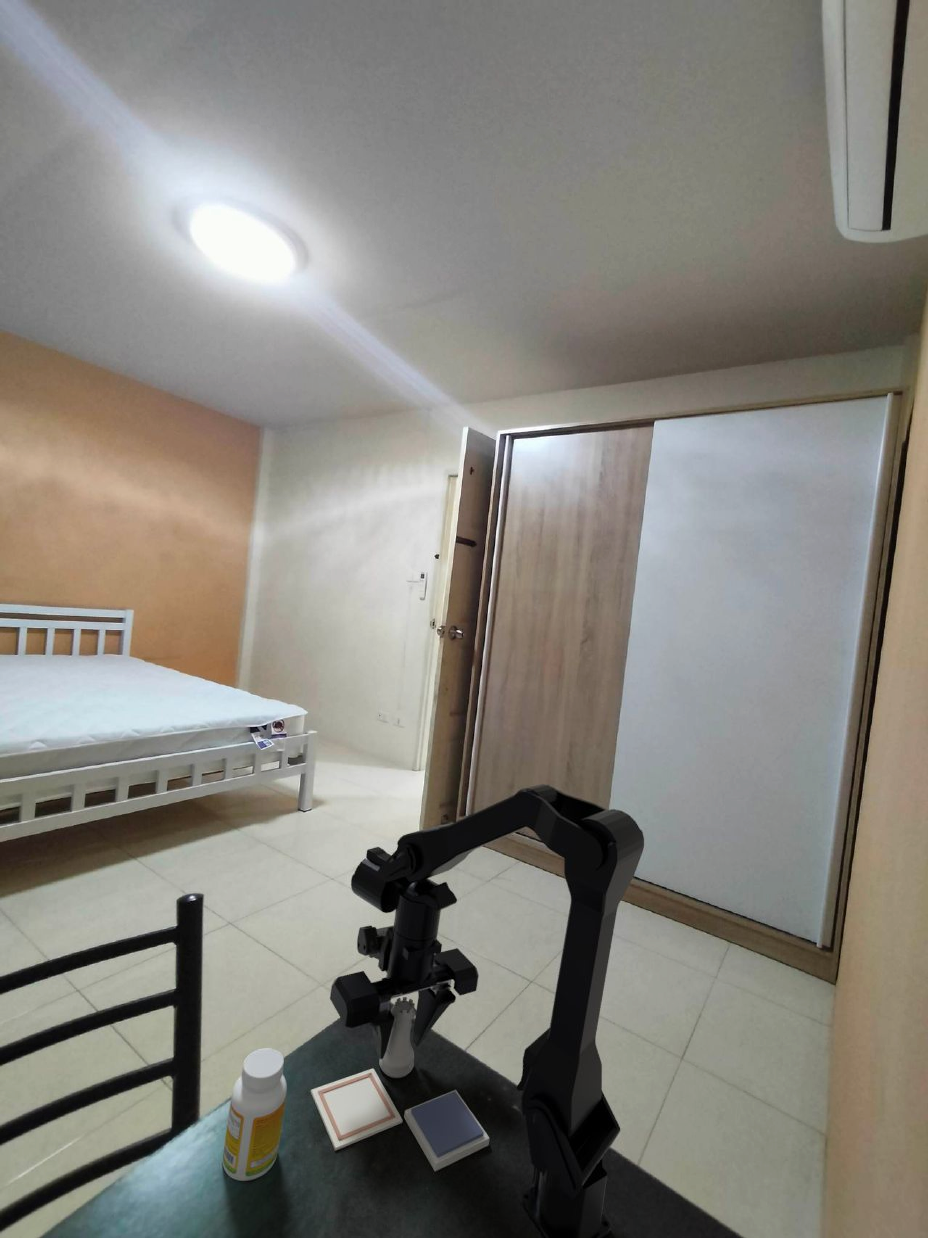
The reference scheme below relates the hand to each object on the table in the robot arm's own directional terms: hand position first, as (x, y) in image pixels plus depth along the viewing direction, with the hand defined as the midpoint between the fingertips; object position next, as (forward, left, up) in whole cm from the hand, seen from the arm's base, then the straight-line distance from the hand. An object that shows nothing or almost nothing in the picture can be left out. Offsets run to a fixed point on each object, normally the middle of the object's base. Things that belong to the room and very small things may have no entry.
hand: (398, 1050), depth 72 cm
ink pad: (-10, -1, -2) cm, 11 cm away
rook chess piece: (0, 0, -2) cm, 2 cm away
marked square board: (-3, +7, -2) cm, 8 cm away
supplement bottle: (-4, +19, -2) cm, 20 cm away
